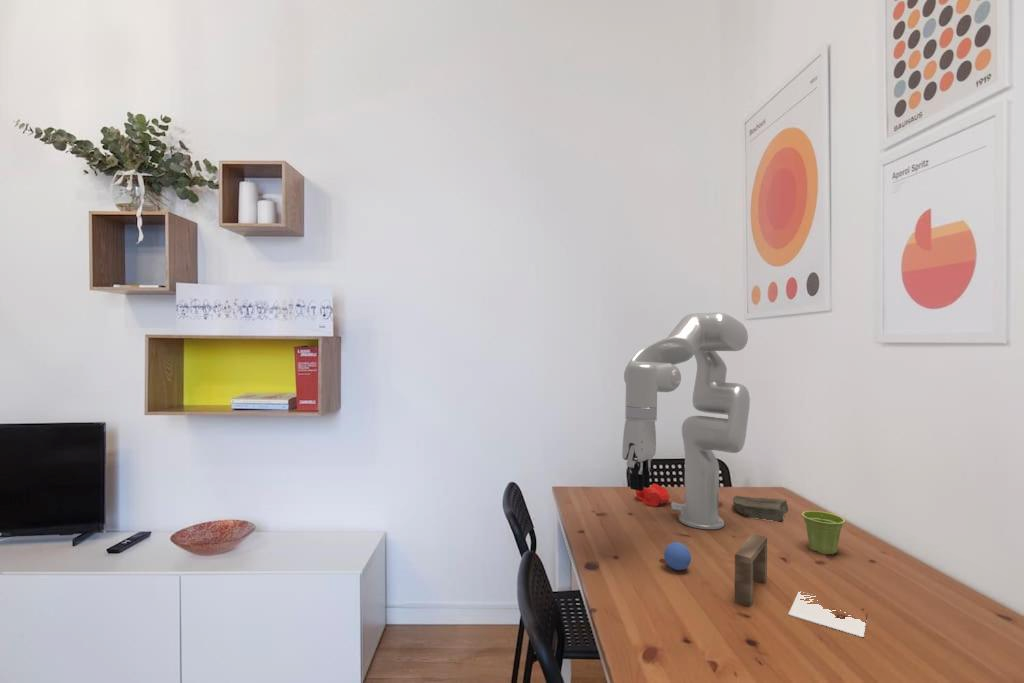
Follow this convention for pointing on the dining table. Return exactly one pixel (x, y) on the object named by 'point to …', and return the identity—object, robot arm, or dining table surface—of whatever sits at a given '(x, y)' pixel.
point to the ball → (677, 556)
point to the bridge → (750, 568)
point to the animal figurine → (653, 495)
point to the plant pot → (823, 531)
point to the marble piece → (761, 507)
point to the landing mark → (825, 616)
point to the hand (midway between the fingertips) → (640, 487)
